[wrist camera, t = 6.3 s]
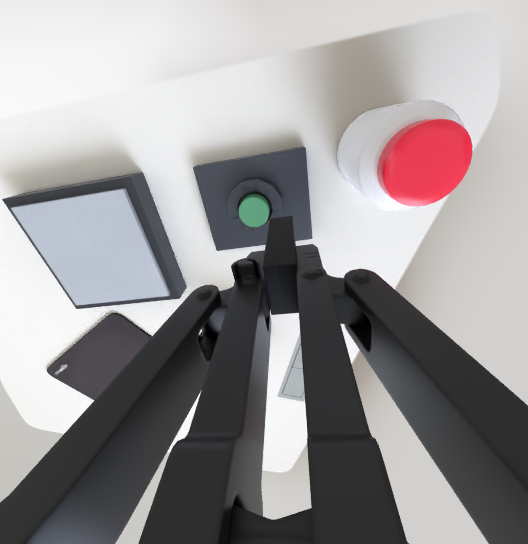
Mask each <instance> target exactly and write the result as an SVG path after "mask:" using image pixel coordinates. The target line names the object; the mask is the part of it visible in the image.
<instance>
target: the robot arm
mask: <svg viewBox="0 0 528 544" xmlns="http://www.w3.org/2000/svg"><path fill="white" fill-rule="evenodd" d="M231 268H232V272H233V276H234V279H235V283H234V286H233V287H232V288H230V289H227V290H223V291H220V292H219V289H218V287H216V286H214V285H205V286H201V287H199V288H197V289H196V290H194V291H193V292H192V293H191V294H190V295H189V296H188V297H187V299H186V300H185V301H184V302H183V303H182V304H181V305H180V306H179V307H178V309H177V310H176V311H175V312H174V313H173V314H172V315H171V316H170V317H169V319H168V320H167V321H166V322H165V323H164V324H163V325H162V326H161V327H160V328H159V330H158V331H157V332H156V333H155V334H154V335H153V336H152V337H151V338H150V340H149V341H148V342H147V343H146V344H145V345H144V346H143V347H142V348H141V350H140V351H139V352H138V353H137V354H136V355H135V356H134V357H133V358H132V360H131V361H130V362H129V363H128V364H127V365H126V366H125V367H124V368H123V370H122V371H121V372H120V373H119V374H118V375H117V376H116V377H115V378H114V379H113V381H112V382H111V383H110V384H109V385H108V386H107V387H106V388H105V389H104V391H103V392H102V393H101V394H100V395H99V396H98V397H97V398H96V399H95V401H94V402H93V403H92V404H91V405H90V406H89V407H88V408H87V409H86V411H85V412H84V413H83V414H82V415H81V416H80V417H79V418H78V419H77V421H76V422H75V423H74V424H73V425H72V426H71V427H70V428H69V429H68V431H67V432H66V433H65V434H64V435H63V436H62V437H61V438H60V439H59V441H58V442H57V443H56V444H55V445H54V446H53V447H52V448H51V449H50V451H49V452H48V453H47V454H46V455H45V456H44V457H43V458H42V459H41V460H40V462H39V463H38V464H37V465H36V466H35V467H34V468H33V469H32V470H31V472H30V473H29V474H28V475H27V476H26V477H25V478H24V479H23V480H22V482H21V483H20V484H19V485H18V486H17V487H16V488H15V489H14V490H13V492H12V493H11V494H10V495H9V496H8V497H6V498H5V499H4V500H3V501H2V502H0V544H115V543H116V541H117V540H118V538H119V536H120V535H121V533H122V531H123V530H124V528H125V526H126V525H127V523H128V521H129V519H130V517H131V516H132V513H133V512H134V510H135V508H136V507H137V505H138V503H139V501H140V499H141V498H142V496H143V494H144V492H145V490H146V489H147V487H148V485H149V483H150V481H151V480H152V478H153V476H154V474H155V472H156V471H157V469H158V467H159V465H160V463H161V462H162V460H163V458H164V456H165V454H166V453H167V451H168V449H169V447H170V445H171V444H172V442H173V440H174V438H175V437H176V435H177V433H178V431H179V429H180V428H181V426H182V424H183V422H184V420H185V419H186V417H187V415H188V413H189V411H190V410H191V408H192V406H193V404H194V402H195V401H196V399H197V397H198V395H199V393H200V392H201V394H200V397H199V401H198V404H197V407H196V410H195V414H194V417H193V420H192V423H191V427H190V430H189V432H188V435H187V436H186V437H185V438H184V439H181V440H179V441H177V442H176V444H175V445H174V446H173V448H172V450H171V452H170V455H169V457H168V459H167V462H166V465H165V468H164V471H163V474H162V477H161V480H160V483H159V486H158V488H157V491H156V494H155V497H154V501H153V504H152V506H151V509H150V512H149V515H148V518H147V520H146V523H145V526H144V529H143V532H142V535H141V538H140V541H139V544H409V543H408V542H407V540H406V537H405V533H404V530H403V526H402V523H401V519H400V516H399V512H398V509H397V506H396V502H395V499H394V495H393V492H392V488H391V485H390V481H389V478H388V474H387V471H386V468H385V464H384V461H383V457H382V454H381V451H380V448H379V445H378V444H377V441H376V439H375V438H373V437H372V436H371V433H370V431H369V428H368V424H367V420H366V417H365V413H364V409H363V406H362V402H361V398H360V394H359V391H358V387H357V383H356V380H355V376H354V373H353V369H352V365H351V361H350V358H349V354H348V350H347V347H346V343H345V339H344V336H343V332H342V328H341V325H340V323H341V324H344V325H345V328H346V330H347V331H348V333H349V334H350V336H351V337H352V339H353V340H354V342H355V343H356V345H357V346H358V348H359V349H360V351H361V352H362V354H363V355H364V357H365V358H366V360H367V361H368V363H369V364H370V366H371V367H372V369H373V370H374V372H375V373H376V375H377V376H378V378H379V379H380V381H381V382H382V384H383V385H384V387H385V388H386V390H387V391H388V393H389V394H390V395H391V397H392V399H393V400H394V402H395V403H396V405H397V406H398V408H399V409H400V411H401V412H402V414H403V415H404V417H405V418H406V420H407V421H408V423H409V424H410V426H411V427H412V429H413V430H414V432H415V433H416V435H417V436H418V438H419V439H420V441H421V442H422V444H423V445H424V447H425V448H426V450H427V451H428V453H429V454H430V456H431V457H432V459H433V460H434V462H435V463H436V465H437V466H438V468H439V469H440V471H441V472H442V474H443V475H444V477H445V478H446V480H447V482H448V483H449V484H450V486H451V487H452V489H453V490H454V492H455V493H456V495H457V497H458V498H459V499H460V501H461V502H462V504H463V506H464V507H465V509H466V510H467V512H468V513H469V515H470V516H471V518H472V519H473V520H474V522H475V524H476V525H477V527H478V528H479V530H480V531H481V533H482V534H483V535H484V537H485V538H486V540H487V542H488V543H489V544H528V406H527V404H525V403H524V402H523V401H522V400H521V399H520V398H519V397H517V396H516V395H515V394H514V393H513V392H512V391H510V390H509V389H508V388H507V387H506V386H505V385H504V384H502V383H501V382H500V381H499V380H498V379H497V378H495V377H494V376H493V375H492V374H491V373H490V372H489V371H488V370H486V369H485V368H484V367H483V366H482V365H481V364H479V363H478V362H477V361H476V360H475V359H474V358H473V357H471V356H470V355H469V354H468V353H467V352H466V351H465V350H463V349H462V348H461V347H460V346H459V345H457V344H456V343H455V342H454V341H453V340H452V339H451V338H450V337H448V336H447V335H446V334H445V333H444V332H443V331H442V330H440V329H439V328H438V327H437V326H436V325H434V324H433V323H432V322H431V321H430V320H429V319H428V318H426V317H425V316H424V315H423V314H422V313H421V312H420V311H418V310H417V309H416V308H415V307H414V306H413V305H412V304H411V303H409V302H408V301H407V300H406V299H405V298H404V297H402V296H401V295H400V294H399V293H398V292H397V291H396V290H394V289H393V288H392V287H391V286H390V285H389V284H388V283H386V282H385V281H384V280H383V279H382V278H381V277H379V276H378V275H377V274H376V273H374V272H372V271H370V270H366V269H356V270H352V271H349V272H348V273H346V274H345V277H344V278H337V277H332V276H329V275H327V273H326V271H325V270H324V269H323V266H322V262H321V259H320V255H319V251H318V248H317V247H316V246H315V245H313V244H310V245H302V246H296V244H295V235H294V226H293V217H292V216H286V217H278V218H271V219H270V221H269V228H268V234H267V241H266V247H265V251H256V252H251V253H250V254H249V255H248V256H247V258H243V259H240V260H238V261H236V262H234V263H233V264H232V266H231ZM270 310H271V315H276V314H289V313H299V320H300V334H301V348H302V362H303V376H304V390H305V404H306V418H307V432H308V438H307V444H308V460H309V476H310V491H311V505H312V508H311V509H307V510H304V511H302V512H298V513H296V514H292V515H289V516H286V517H283V518H280V519H276V520H271V519H268V518H265V517H263V505H262V504H263V503H262V492H261V477H262V461H263V446H264V430H265V414H266V398H267V382H268V366H269V350H270V334H271V318H270ZM201 329H202V332H201V334H200V335H199V332H200V330H201ZM201 390H202V391H201Z"/></svg>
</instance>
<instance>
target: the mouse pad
mask: <svg viewBox="0 0 528 544" xmlns="http://www.w3.org/2000/svg"><path fill="white" fill-rule="evenodd" d="M150 338H151V337H150V336H149V335H147V334H146V333H145V332H143V331H142V330H141V329H139V328H138V327H136V326H135V325H134V324H132V323H131V322H130V321H128V320H127V319H126V318H124V317H122V316H120V315H118V314H111V315H109V316H107V317H106V318H105V319H104V320H102V321H101V322H100V323H99V324H98V325H97V326H95V327H94V328H93V329H92V330H91V331H90V332H89V333H87V334H86V335H85V336H84V337H83V338H82V339H80V340H79V341H78V342H77V343H76V344H75V345H73V346H72V347H71V348H70V349H69V350H68V351H67V352H65V353H64V354H63V355H62V356H61V357H60V358H58V359H57V360H56V361H55V362H54V363H53V364H52V365H50V366H49V367H48V368H47V372H48V374H50V375H51V376H52V377H54V378H56V379H58V380H59V381H61V382H63V383H65V384H66V385H68V386H70V387H72V388H74V389H75V390H77V391H79V392H81V393H82V394H84V395H86V396H88V397H90V398H91V399H93V400H95V399H96V398H97V397H98V396H99V395H100V394H101V393H102V392H103V391H104V389H105V388H106V387H107V386H108V385H109V384H110V383H111V382H112V381H113V379H114V378H115V377H116V376H117V375H118V374H119V373H120V372H121V371H122V370H123V368H124V367H125V366H126V365H127V364H128V363H129V362H130V361H131V360H132V358H133V357H134V356H135V355H136V354H137V353H138V352H139V351H140V350H141V348H142V347H143V346H144V345H145V344H146V343H147V342H148V341H149V340H150Z"/></svg>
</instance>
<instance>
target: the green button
mask: <svg viewBox="0 0 528 544" xmlns="http://www.w3.org/2000/svg"><path fill="white" fill-rule="evenodd" d="M269 211H270V207H269V203H268V201H267V200H266V199H265V198H264V197H263V196H261V195H259V194H250V195H248V196H246V197H245V198H244V199H243V200H242V202H241V204H240V206H239V217H240V219H241V220H242V222H243V223H244V224H246V225H248V226H250V227H259V226H261V225H263V224H264V223H265V222H266V221H267V219H268V217H269Z"/></svg>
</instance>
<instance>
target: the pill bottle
mask: <svg viewBox="0 0 528 544" xmlns="http://www.w3.org/2000/svg"><path fill="white" fill-rule="evenodd" d="M471 158H472V142H471V138H470V136H469V134H468V132H467V130H466V129H465V128H464V125H463V123H462V121H461V119H460V117H459V116H458V115H457V114H456V113H455V111H454V110H453V109H451V108H450V107H448V106H446V105H445V104H443V103H440V102H436V101H428V100H420V101H414V102H408V103H402V104H396V105H391V106H385V107H379V108H375V109H371V110H369V111H367V112H364V113H363V114H361V115H360V116H358V117H357V118H356V119H355V120H354V121H353V122H352V123H351V124H350V125H349V126H348V127H347V129H346V130H345V132H344V134H343V136H342V137H341V140H340V143H339V146H338V152H337V163H338V167H339V170H340V172H341V174H342V176H343V177H344V179H345V180H346V181H347V182H348V183H349V184H350V185H351V186H353V187H354V188H355V189H356V190H357V191H358V192H360V193H361V194H362V195H363V196H364V197H365V198H366V199H368V200H369V201H370V202H371V203H373V204H374V205H376V206H378V207H380V208H382V209H386V210H390V211H404V210H410V209H413V208H416V207H419V206H425V205H428V204H431V203H434V202H436V201H438V200H440V199H442V198H443V197H445V196H446V195H448V194H449V193H450V192H451V191H452V190H453V189H454V188H456V187H457V185H458V184H459V183H460V182H461V180H462V179H463V177H464V176H465V174H466V172H467V170H468V167H469V165H470V162H471Z"/></svg>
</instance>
